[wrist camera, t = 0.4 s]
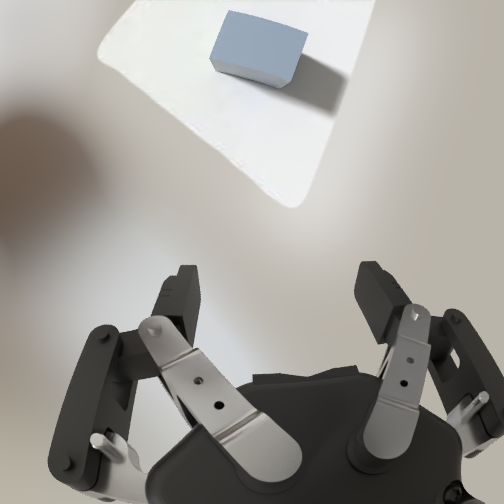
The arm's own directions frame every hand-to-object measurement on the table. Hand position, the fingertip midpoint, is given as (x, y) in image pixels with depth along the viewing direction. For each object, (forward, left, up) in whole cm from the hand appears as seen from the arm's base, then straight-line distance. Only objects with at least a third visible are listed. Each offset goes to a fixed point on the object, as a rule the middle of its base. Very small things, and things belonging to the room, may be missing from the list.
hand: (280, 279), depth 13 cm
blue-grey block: (-15, -5, -26) cm, 31 cm away
